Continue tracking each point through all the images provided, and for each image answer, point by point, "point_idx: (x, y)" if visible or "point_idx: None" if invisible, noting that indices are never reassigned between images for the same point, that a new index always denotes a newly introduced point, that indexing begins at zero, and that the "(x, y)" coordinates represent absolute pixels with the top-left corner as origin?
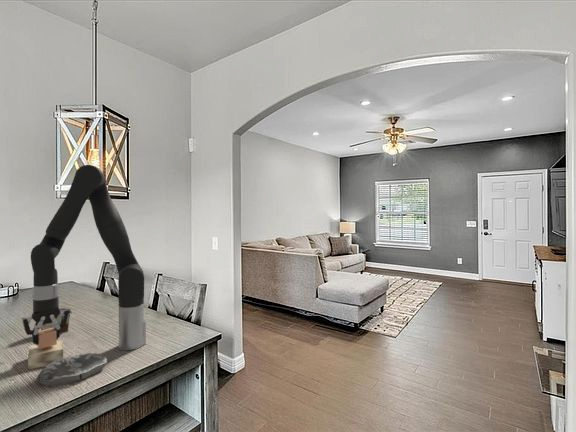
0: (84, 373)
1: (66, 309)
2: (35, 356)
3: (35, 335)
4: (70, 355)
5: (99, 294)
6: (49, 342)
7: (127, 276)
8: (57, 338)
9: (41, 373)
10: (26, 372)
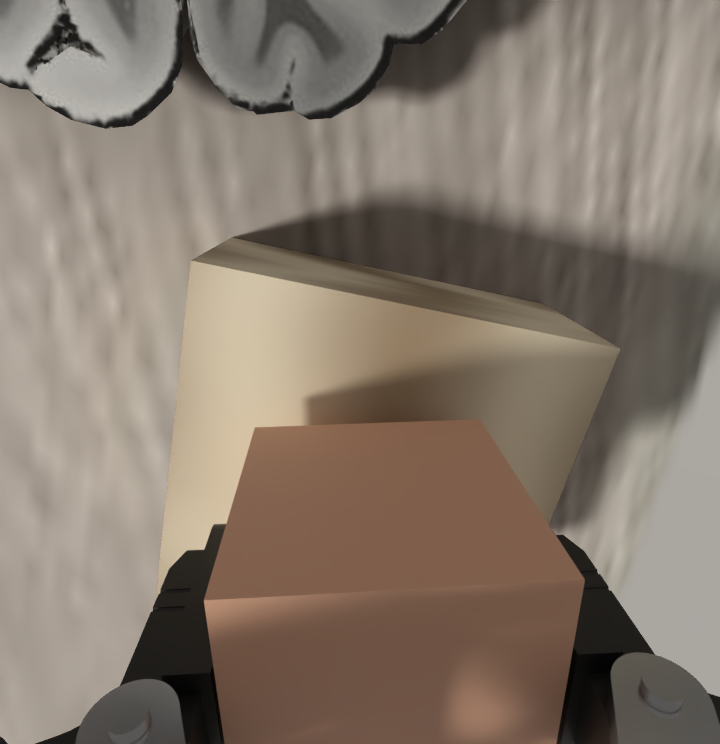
0: None
1: None
2: (531, 324)
3: (612, 660)
4: (131, 118)
5: None
6: (355, 458)
7: None
8: (219, 527)
9: None
10: (574, 243)
